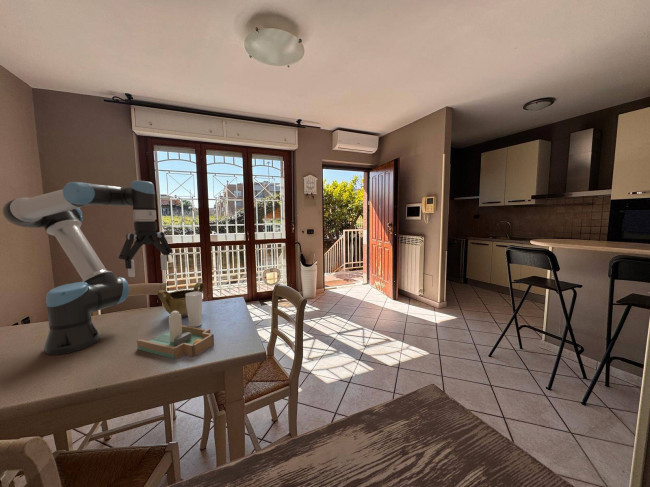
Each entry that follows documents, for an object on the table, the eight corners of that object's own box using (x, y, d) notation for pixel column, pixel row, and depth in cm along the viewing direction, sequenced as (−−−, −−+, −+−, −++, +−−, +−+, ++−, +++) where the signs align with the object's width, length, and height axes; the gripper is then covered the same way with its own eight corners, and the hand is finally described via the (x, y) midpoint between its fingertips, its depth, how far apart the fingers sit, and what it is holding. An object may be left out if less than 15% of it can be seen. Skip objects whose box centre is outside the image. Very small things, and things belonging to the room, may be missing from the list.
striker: (166, 342, 98) (164, 313, 97) (179, 336, 104) (178, 307, 103) (178, 345, 96) (176, 315, 95) (191, 338, 102) (189, 309, 101)
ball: (195, 353, 96) (189, 346, 96) (202, 348, 99) (196, 341, 100) (199, 346, 95) (193, 339, 95) (207, 342, 98) (200, 335, 99)
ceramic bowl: (170, 326, 117) (168, 294, 116) (151, 318, 126) (149, 288, 124) (213, 310, 136) (212, 283, 135) (194, 305, 145) (192, 279, 143)
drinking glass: (196, 329, 114) (195, 296, 113) (183, 327, 116) (181, 295, 114) (206, 322, 121) (205, 291, 119) (194, 321, 122) (192, 290, 121)
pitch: (137, 349, 97) (136, 339, 96) (175, 331, 112) (174, 322, 111) (186, 361, 89) (185, 350, 88) (219, 340, 104) (219, 331, 103)
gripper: (117, 221, 90) (122, 280, 92) (179, 220, 113) (182, 267, 116) (103, 221, 92) (108, 279, 95) (166, 220, 116) (169, 266, 118)
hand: (149, 273), depth 105 cm, fingers open, 13 cm apart
